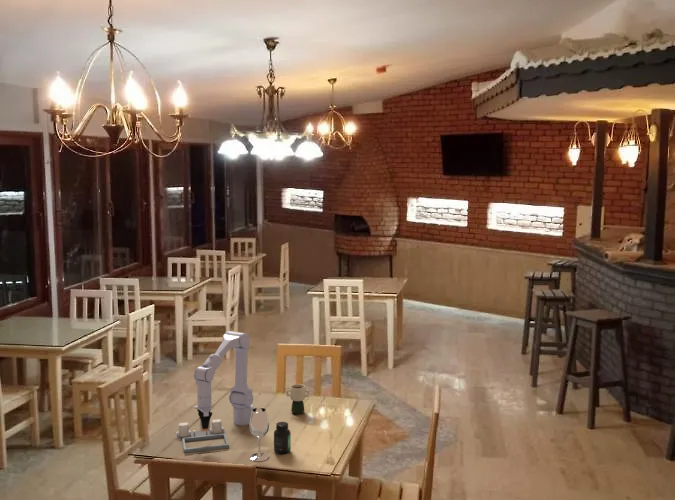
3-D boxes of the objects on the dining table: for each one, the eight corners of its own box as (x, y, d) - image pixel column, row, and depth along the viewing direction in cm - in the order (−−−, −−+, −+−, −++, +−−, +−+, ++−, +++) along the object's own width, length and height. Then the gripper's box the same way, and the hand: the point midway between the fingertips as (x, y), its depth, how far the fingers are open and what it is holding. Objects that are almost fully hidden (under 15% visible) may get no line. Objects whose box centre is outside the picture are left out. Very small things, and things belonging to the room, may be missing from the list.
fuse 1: (188, 433, 292) (188, 422, 291) (188, 436, 289) (188, 425, 288) (178, 434, 291) (178, 423, 290) (179, 437, 288) (179, 425, 287)
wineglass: (260, 463, 266) (260, 414, 263) (245, 458, 270) (245, 410, 267) (273, 456, 272) (272, 408, 270) (257, 451, 276) (257, 405, 274)
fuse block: (223, 431, 298) (223, 424, 297) (225, 436, 292) (225, 430, 292) (175, 436, 292) (175, 429, 291) (175, 441, 286) (175, 435, 286)
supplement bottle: (293, 452, 276) (293, 424, 274) (278, 456, 272) (278, 428, 270) (285, 446, 281) (285, 419, 280) (271, 450, 278) (270, 422, 276)
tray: (225, 439, 289) (225, 433, 289) (228, 450, 277) (228, 444, 277) (182, 443, 284) (182, 438, 284) (184, 455, 272) (184, 449, 272)
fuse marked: (209, 427, 282) (209, 416, 281) (210, 430, 279) (209, 419, 278) (199, 428, 281) (199, 417, 280) (200, 431, 278) (200, 420, 277)
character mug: (309, 410, 323) (309, 384, 322) (308, 415, 316) (308, 388, 315) (287, 409, 324) (287, 383, 322) (285, 415, 317) (285, 388, 315)
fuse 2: (220, 429, 296) (220, 419, 295) (221, 432, 293) (221, 421, 292) (211, 430, 295) (211, 419, 294) (212, 433, 292) (212, 422, 291)
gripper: (193, 390, 284) (193, 421, 285) (195, 402, 270) (196, 434, 272) (210, 389, 286) (210, 419, 287) (213, 400, 272) (214, 432, 273)
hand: (204, 426), depth 280 cm, fingers closed on fuse marked, 3 cm apart
